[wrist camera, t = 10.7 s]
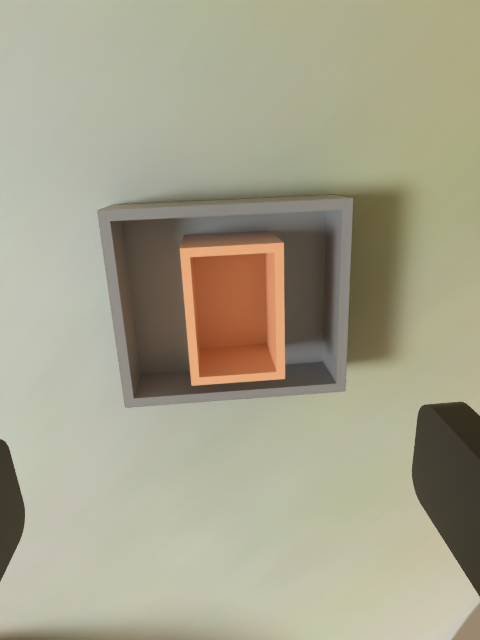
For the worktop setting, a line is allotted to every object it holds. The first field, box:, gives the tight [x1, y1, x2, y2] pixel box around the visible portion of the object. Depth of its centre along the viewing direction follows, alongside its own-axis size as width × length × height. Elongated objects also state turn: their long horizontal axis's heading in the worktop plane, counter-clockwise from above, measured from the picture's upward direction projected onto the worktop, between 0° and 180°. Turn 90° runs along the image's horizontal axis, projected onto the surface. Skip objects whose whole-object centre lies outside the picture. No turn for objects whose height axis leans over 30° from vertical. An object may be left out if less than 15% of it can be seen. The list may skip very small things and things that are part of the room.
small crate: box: [180, 231, 285, 386], centre depth 27 cm, size 8×6×5 cm
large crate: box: [97, 195, 353, 408], centre depth 28 cm, size 12×14×4 cm
